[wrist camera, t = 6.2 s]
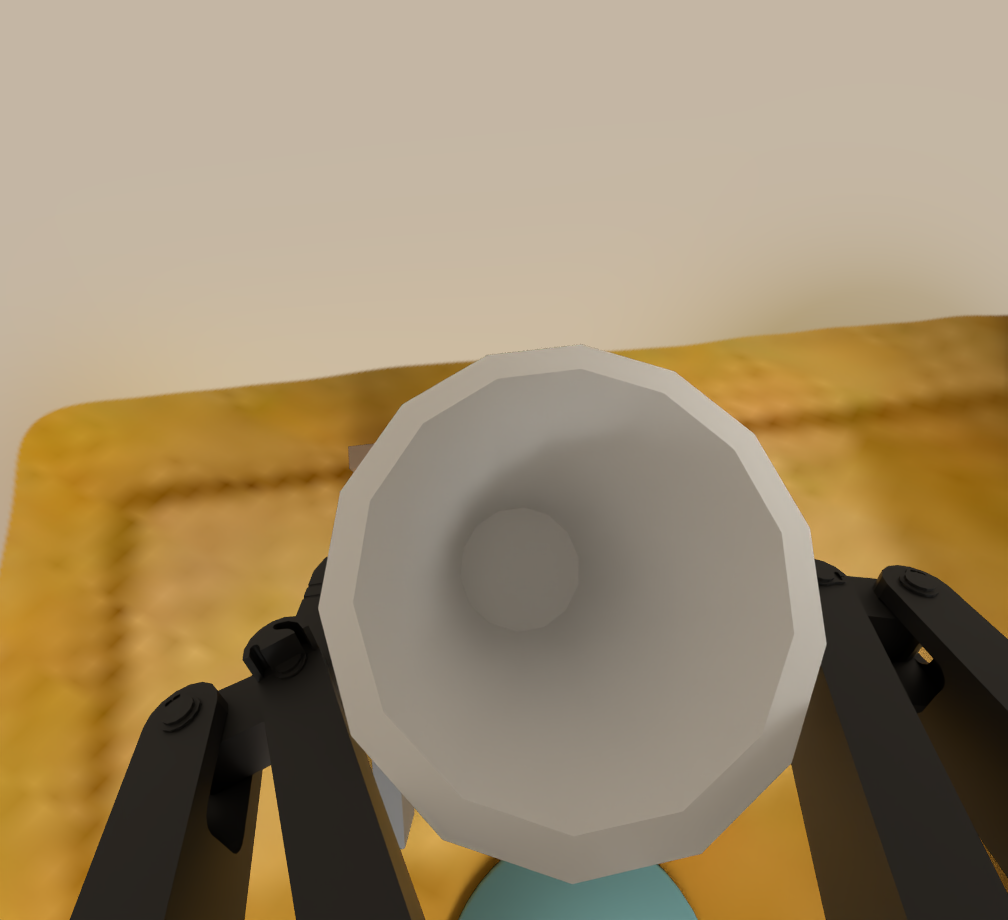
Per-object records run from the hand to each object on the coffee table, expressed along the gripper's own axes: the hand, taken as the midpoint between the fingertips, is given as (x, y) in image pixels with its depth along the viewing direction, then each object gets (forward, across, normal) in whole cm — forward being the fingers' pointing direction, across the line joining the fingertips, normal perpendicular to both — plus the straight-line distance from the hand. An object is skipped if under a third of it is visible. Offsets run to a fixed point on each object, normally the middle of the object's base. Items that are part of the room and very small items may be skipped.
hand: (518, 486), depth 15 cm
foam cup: (+2, 0, -6) cm, 6 cm away
